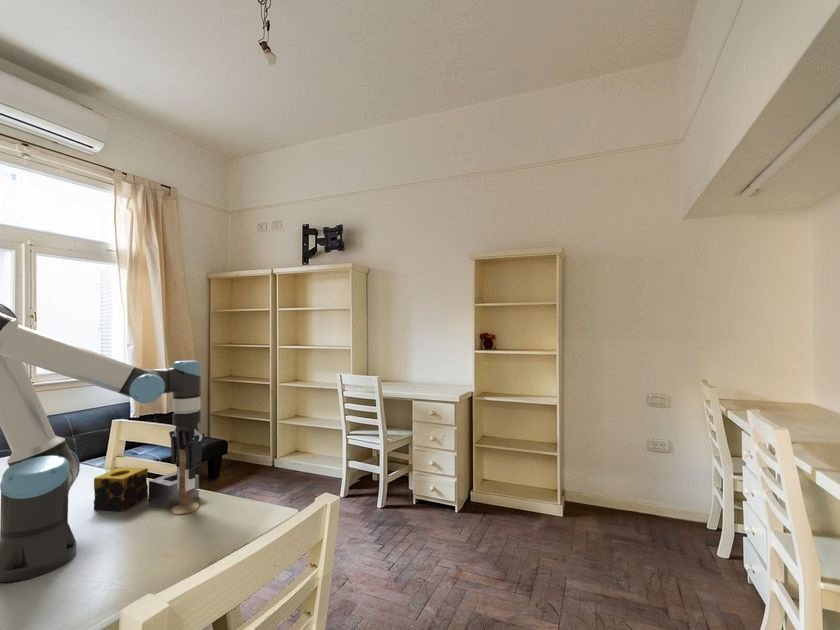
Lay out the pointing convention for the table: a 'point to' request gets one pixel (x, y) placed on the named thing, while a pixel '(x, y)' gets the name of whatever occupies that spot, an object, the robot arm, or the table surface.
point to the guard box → (167, 491)
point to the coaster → (185, 508)
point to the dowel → (184, 495)
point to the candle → (120, 489)
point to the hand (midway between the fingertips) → (186, 488)
